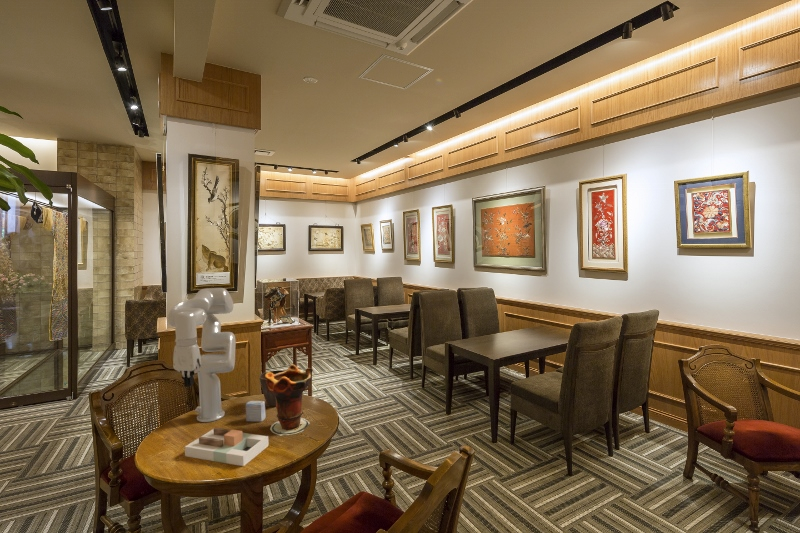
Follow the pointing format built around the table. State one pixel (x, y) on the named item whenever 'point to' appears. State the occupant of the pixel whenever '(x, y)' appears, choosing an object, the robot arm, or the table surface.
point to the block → (233, 437)
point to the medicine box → (255, 411)
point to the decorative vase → (289, 399)
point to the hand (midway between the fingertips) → (189, 385)
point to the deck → (228, 449)
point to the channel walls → (211, 440)
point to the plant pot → (267, 393)
